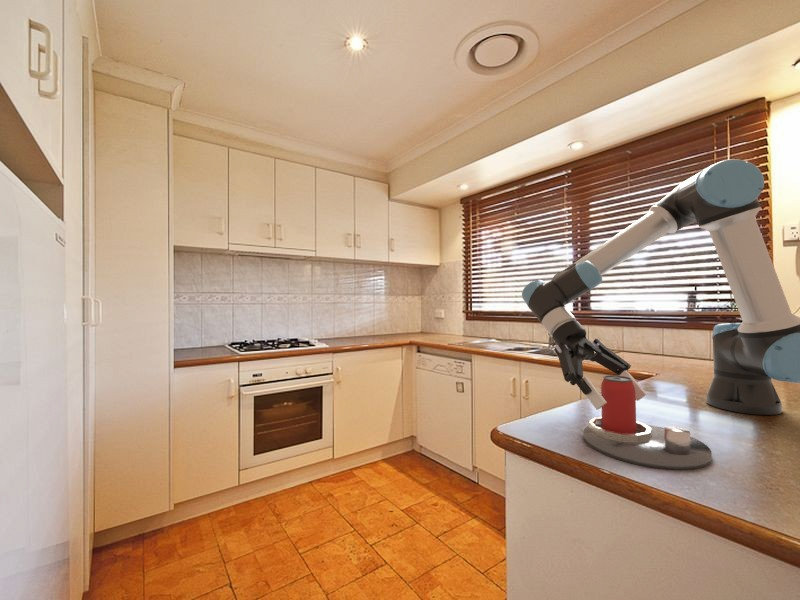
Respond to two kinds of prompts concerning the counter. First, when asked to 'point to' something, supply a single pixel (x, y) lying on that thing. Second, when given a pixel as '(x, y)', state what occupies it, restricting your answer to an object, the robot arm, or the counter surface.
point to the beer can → (618, 404)
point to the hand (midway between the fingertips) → (622, 401)
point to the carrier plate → (650, 446)
